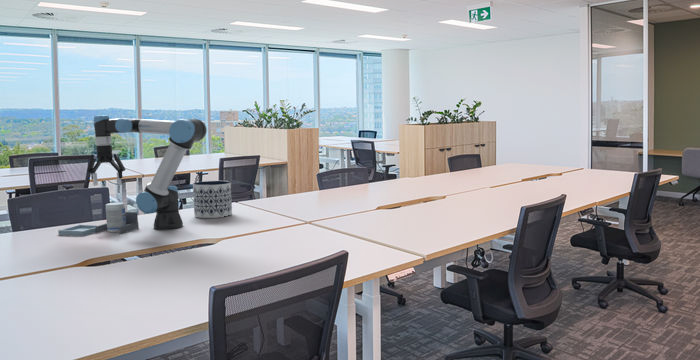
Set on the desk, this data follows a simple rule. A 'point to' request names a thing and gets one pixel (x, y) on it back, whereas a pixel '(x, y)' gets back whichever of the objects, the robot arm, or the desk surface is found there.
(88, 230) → the tray
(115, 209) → the supplement tub
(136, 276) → the desk surface
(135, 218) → the bay
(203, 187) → the planter
